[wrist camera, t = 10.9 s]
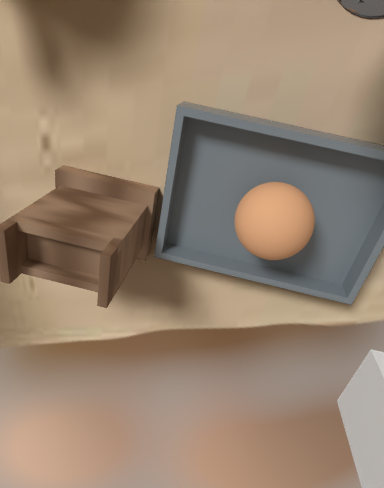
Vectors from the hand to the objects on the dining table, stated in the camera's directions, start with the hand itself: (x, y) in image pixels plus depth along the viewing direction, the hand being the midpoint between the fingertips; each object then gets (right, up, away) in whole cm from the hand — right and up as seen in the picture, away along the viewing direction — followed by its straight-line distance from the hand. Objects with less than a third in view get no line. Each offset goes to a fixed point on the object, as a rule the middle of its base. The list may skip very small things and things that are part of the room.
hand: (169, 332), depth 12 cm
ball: (+8, +6, +17) cm, 19 cm away
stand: (-7, +6, +20) cm, 22 cm away
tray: (+8, +7, +17) cm, 20 cm away
